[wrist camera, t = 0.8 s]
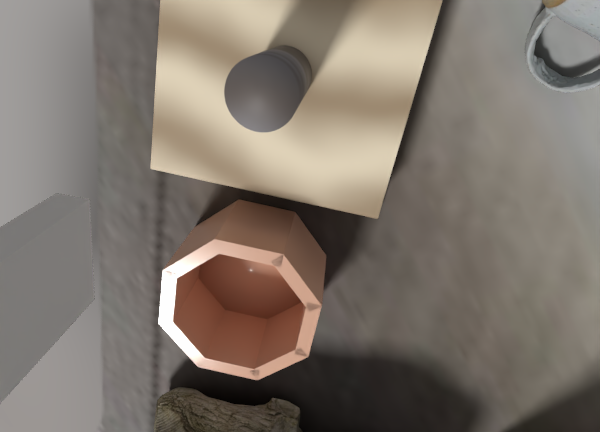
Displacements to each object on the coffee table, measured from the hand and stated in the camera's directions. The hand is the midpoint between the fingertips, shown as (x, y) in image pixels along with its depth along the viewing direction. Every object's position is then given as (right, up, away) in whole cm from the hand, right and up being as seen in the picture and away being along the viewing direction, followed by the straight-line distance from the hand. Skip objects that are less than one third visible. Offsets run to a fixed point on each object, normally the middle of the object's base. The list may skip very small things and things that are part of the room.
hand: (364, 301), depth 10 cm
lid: (-2, +12, +20) cm, 23 cm away
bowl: (-5, -2, +27) cm, 28 cm away
